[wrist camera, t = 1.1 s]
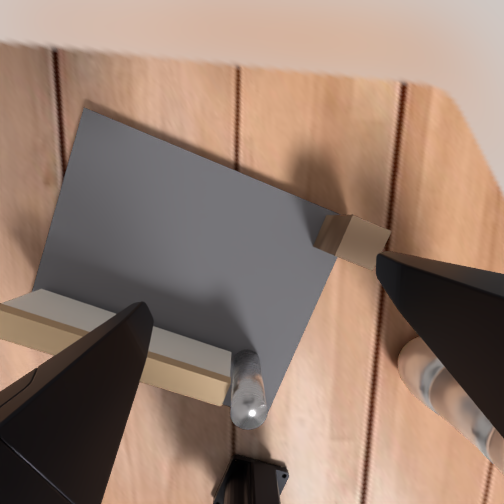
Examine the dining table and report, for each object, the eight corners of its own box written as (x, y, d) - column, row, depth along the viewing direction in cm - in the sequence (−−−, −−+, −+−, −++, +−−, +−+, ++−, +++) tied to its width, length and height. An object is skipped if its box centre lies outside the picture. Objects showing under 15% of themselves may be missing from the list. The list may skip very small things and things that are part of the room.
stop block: (338, 256, 23) (372, 271, 17) (309, 245, 22) (334, 255, 16) (351, 227, 22) (391, 231, 16) (322, 215, 22) (353, 214, 16)
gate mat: (264, 409, 25) (265, 417, 24) (27, 335, 22) (18, 341, 21) (348, 220, 22) (353, 220, 21) (91, 112, 20) (84, 107, 19)
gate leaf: (232, 349, 22) (230, 383, 17) (224, 368, 22) (221, 406, 18) (42, 286, 20) (-14, 305, 16) (36, 307, 20) (-21, 332, 16)
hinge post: (253, 371, 24) (259, 433, 17) (229, 363, 24) (225, 423, 17) (263, 348, 24) (272, 403, 17) (238, 340, 23) (238, 392, 17)
